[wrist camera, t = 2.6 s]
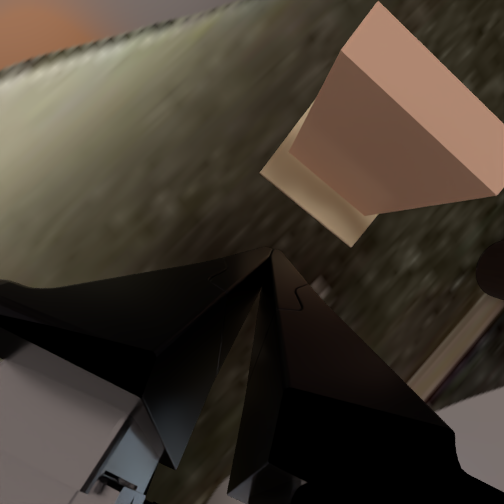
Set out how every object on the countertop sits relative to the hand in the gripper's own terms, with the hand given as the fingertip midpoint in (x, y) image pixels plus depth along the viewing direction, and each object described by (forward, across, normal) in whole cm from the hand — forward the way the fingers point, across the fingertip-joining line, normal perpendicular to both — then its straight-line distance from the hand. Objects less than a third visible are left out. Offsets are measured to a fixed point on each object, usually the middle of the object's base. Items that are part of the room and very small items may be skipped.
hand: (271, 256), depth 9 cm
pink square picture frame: (+14, +4, +2) cm, 14 cm away
